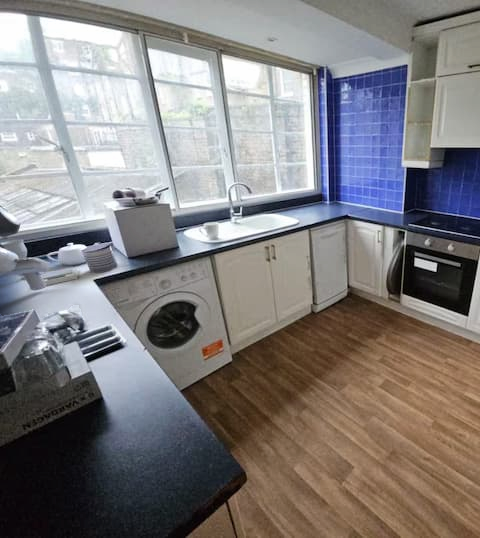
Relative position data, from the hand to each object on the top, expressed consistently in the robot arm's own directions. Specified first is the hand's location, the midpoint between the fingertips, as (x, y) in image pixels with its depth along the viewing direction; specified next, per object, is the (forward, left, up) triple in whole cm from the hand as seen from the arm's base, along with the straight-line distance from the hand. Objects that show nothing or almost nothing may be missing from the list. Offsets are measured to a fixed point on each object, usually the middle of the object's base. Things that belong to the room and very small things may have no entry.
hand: (33, 273), depth 125 cm
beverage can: (0, 0, -7) cm, 7 cm away
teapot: (+12, +35, -8) cm, 38 cm away
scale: (+5, +12, -8) cm, 16 cm away
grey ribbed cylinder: (+22, +13, -8) cm, 27 cm away
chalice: (-6, +25, -8) cm, 27 cm away
